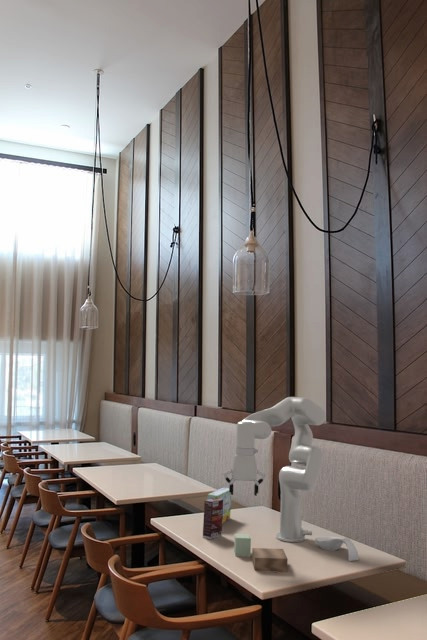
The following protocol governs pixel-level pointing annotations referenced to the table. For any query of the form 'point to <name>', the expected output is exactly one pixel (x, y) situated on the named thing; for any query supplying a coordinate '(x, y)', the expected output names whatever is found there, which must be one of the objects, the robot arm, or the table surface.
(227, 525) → the table surface
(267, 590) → the table surface
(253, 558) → the walnut slab
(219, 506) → the supplement box
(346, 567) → the table surface
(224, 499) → the snack box
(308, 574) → the table surface
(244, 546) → the sage block
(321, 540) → the spoon rest
